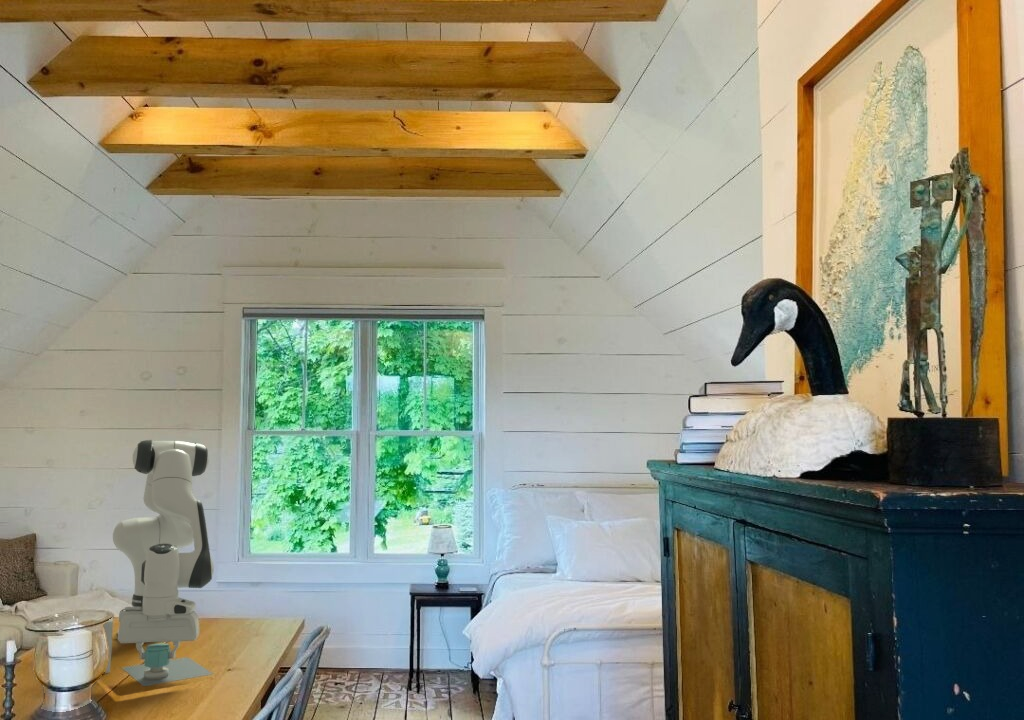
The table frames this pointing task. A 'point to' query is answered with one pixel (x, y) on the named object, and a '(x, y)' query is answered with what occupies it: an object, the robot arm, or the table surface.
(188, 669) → the post board
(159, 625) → the robot arm
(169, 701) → the table surface
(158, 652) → the cap
